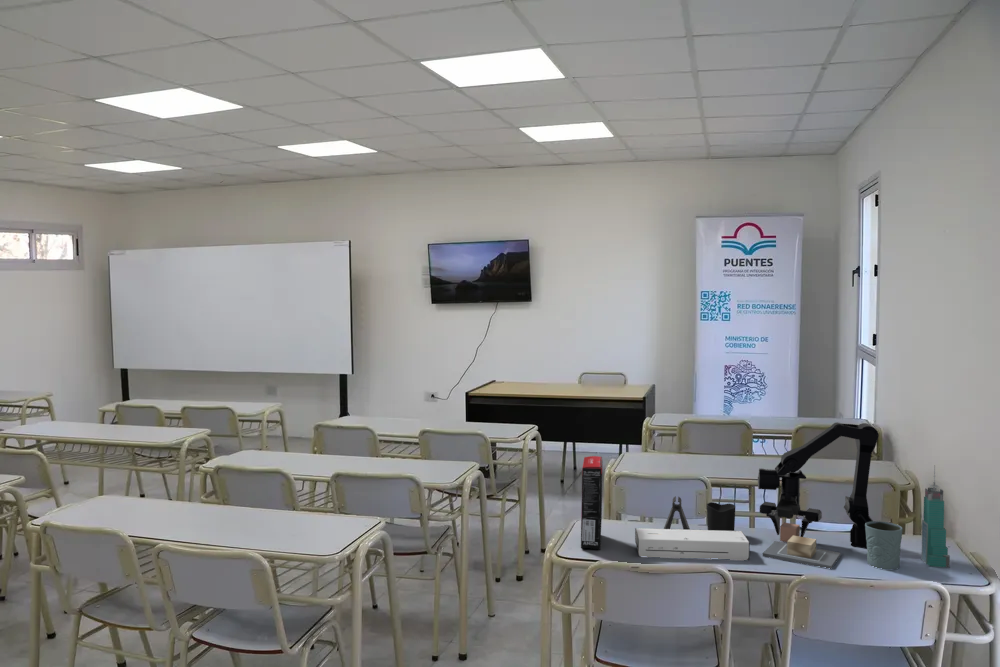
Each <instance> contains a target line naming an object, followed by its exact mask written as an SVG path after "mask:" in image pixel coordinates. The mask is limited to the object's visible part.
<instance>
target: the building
mask: <svg viewBox="0 0 1000 667" xmlns="http://www.w3.org/2000/svg"><path fill="white" fill-rule="evenodd" d="M935 474H936V465H934V471H933V483H932V484H929V487H927V488H926V487H925V489H924V496H923V519H922V521H921V561H923V562H924V563H925V565H927V566H928V567H936V568H950V564H951V563H950V561H951V560H950V557H951V556H950V555H949V548H948V547H947V529H946V528H945V527H944V526H945V524H944V523H945V501H944V490H943V489H942V488H940V486H939V485H937V484H936V475H935Z"/></svg>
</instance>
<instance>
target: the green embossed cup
mask: <svg viewBox="0 0 1000 667" xmlns="http://www.w3.org/2000/svg"><path fill="white" fill-rule="evenodd" d="M865 530H866V540H867V548H866V551H867V552H866V559H867V560H866V561H867V564H868V565H869V564H870V565H871V566H870V565H869V566H870V567H872V566H874V567H873V568H875V567H877V568H876V569H878V568H882V569H881V570H883V569H896V570H898V569H899V568H900V563H901V546H902V536H903V527H902V526H901V525H899V524H897V523H892V522H888V521H880V520H879V521H878V520H876V521H874V520H873V521H871V522H867V523H865ZM897 568H898V569H897Z"/></svg>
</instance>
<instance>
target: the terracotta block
mask: <svg viewBox="0 0 1000 667" xmlns="http://www.w3.org/2000/svg"><path fill="white" fill-rule="evenodd" d="M800 528H801V526H800V524H795V523H790V522H783V523H782V524H780V534H779V542H784V543H787V541H788V540H789V539H790V538H791V537H792V536H793V535H794V536H800V537H801V529H800Z"/></svg>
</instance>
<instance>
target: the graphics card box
mask: <svg viewBox="0 0 1000 667" xmlns="http://www.w3.org/2000/svg"><path fill="white" fill-rule="evenodd" d="M580 510H581V511H580V512H581V513H580V514H581V515H580V518H581V519H580V520H581V521H580V532H581V533H580V548H581V549H583V548H593V549H592V550H600V549H601V543H602V541H601V540H602V538H601V537H602V536H601V535H602V517H603V516H602V513H603V512H602V511H603V457H602V456H598V455H597V456H596V455H592V456H584V457H583V463H582V470H581V509H580Z"/></svg>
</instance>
